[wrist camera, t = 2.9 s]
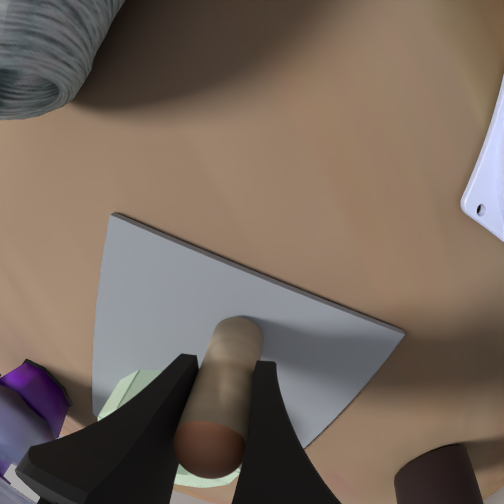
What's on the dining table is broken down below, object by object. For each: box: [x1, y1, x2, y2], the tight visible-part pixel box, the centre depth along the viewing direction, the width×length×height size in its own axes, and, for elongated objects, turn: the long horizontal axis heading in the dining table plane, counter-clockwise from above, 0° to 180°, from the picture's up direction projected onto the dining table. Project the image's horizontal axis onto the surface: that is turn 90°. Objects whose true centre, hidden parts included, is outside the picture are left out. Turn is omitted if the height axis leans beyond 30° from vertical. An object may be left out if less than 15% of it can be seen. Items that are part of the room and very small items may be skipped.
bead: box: [98, 370, 242, 488], centre depth 15 cm, size 8×8×3 cm
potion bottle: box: [0, 359, 72, 485], centre depth 13 cm, size 9×9×12 cm
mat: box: [92, 212, 405, 449], centre depth 15 cm, size 14×16×1 cm
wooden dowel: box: [173, 317, 264, 479], centre depth 10 cm, size 2×2×7 cm
